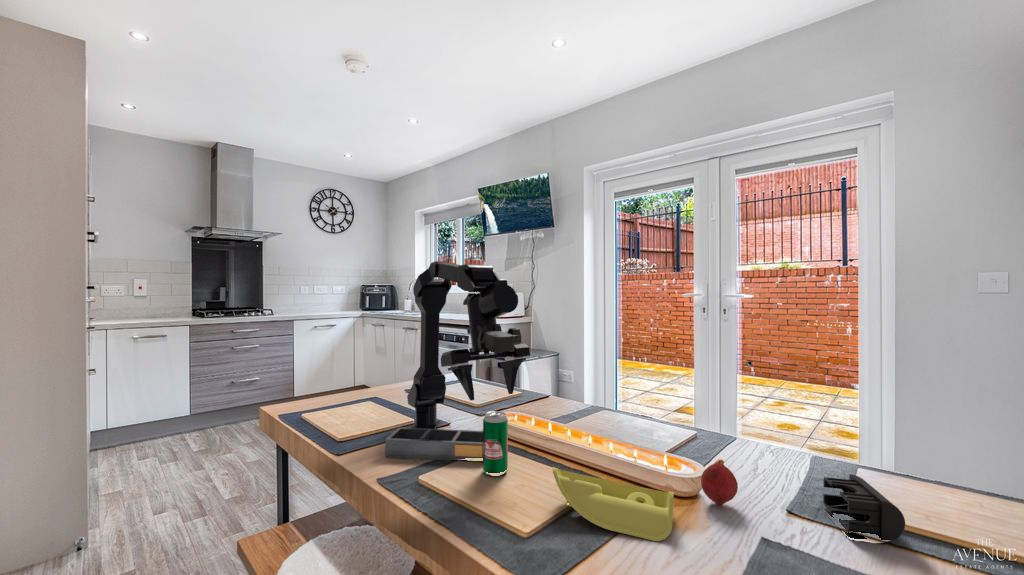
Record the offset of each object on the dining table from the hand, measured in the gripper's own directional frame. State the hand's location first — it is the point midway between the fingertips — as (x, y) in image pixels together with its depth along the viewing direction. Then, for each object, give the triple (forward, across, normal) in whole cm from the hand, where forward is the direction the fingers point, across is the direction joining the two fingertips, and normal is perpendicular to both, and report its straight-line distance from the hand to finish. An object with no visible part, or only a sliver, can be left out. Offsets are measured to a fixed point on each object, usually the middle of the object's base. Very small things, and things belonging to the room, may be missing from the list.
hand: (492, 397), depth 92 cm
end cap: (+28, +38, -45) cm, 65 cm away
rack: (+11, -4, +19) cm, 22 cm away
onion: (+24, +26, -28) cm, 45 cm away
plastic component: (+22, +9, -20) cm, 31 cm away
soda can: (+15, 0, +3) cm, 16 cm away
